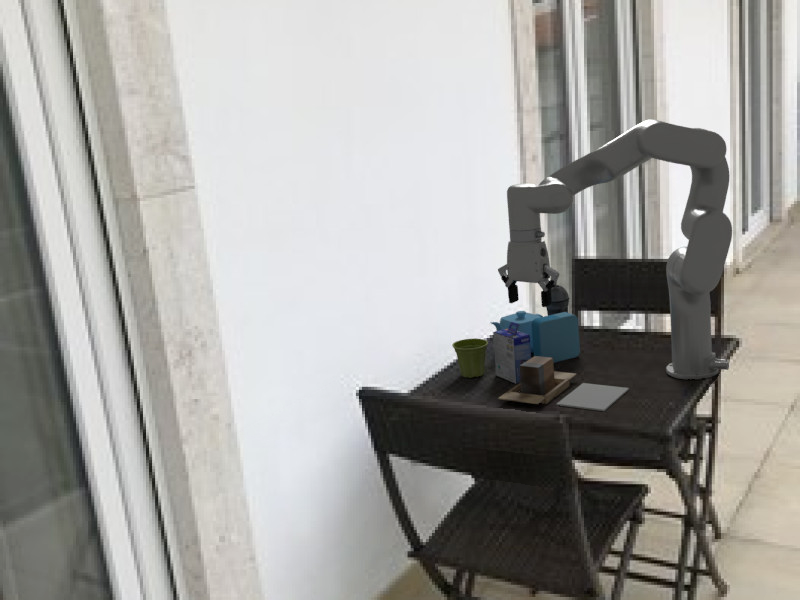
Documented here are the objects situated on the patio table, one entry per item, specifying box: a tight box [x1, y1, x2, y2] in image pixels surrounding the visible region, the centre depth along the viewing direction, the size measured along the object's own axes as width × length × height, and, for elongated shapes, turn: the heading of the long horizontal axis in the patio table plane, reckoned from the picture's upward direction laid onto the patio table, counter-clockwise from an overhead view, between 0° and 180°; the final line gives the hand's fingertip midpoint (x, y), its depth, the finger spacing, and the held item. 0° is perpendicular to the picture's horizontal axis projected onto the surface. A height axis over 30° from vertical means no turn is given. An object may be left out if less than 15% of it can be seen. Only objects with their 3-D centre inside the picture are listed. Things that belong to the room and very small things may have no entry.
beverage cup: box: [545, 269, 570, 316], centre depth 279 cm, size 7×7×20 cm
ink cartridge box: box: [492, 322, 532, 385], centre depth 250 cm, size 10×6×14 cm, turn 28°
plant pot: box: [452, 337, 489, 379], centre depth 256 cm, size 9×9×9 cm
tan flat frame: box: [497, 370, 577, 405], centre depth 239 cm, size 11×22×2 cm, turn 145°
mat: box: [556, 382, 630, 412], centre depth 232 cm, size 12×15×1 cm
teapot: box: [490, 310, 544, 354], centre depth 271 cm, size 12×18×12 cm
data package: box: [531, 312, 581, 364], centre depth 261 cm, size 12×4×12 cm, turn 112°
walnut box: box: [520, 355, 556, 396], centre depth 238 cm, size 5×8×8 cm, turn 145°
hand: (530, 303), depth 237 cm, fingers open, 9 cm apart
